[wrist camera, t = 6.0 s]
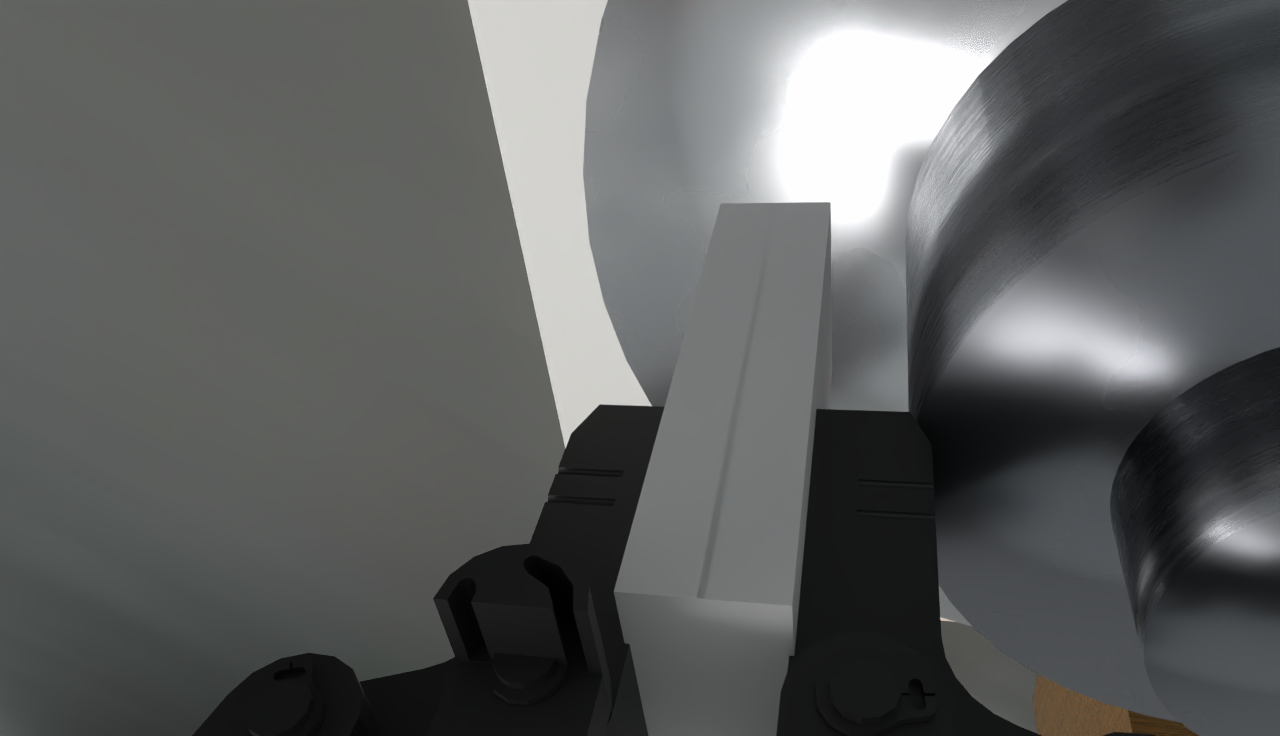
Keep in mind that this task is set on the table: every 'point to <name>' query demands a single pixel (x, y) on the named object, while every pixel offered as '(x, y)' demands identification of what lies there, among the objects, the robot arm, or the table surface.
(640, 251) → the turntable
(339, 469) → the table surface
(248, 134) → the table surface
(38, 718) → the table surface
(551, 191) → the turntable base
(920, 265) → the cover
